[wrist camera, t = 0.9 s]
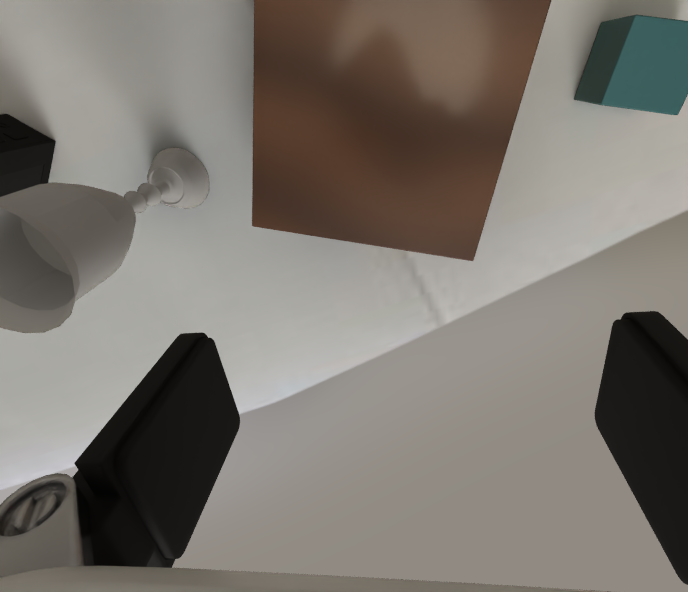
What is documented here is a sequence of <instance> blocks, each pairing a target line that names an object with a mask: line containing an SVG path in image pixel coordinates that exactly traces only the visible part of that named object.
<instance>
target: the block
mask: <svg viewBox="0 0 688 592" xmlns="http://www.w3.org/2000/svg"><path fill="white" fill-rule="evenodd" d="M687 95H688V21H683V20H675V19H667V18H659V17H651V16H643V15H632V16H628V17H623V18H619V19H614V20H610V21H605V22H602V23H601V25H600V28H599V31H598V33H597V36H596V39H595V42H594V45H593V48H592V50H591V53H590V56H589V59H588V62H587V64H586V67H585V70H584V73H583V76H582V78H581V81H580V84H579V87H578V90H577V92H576V95H575V98H574V99H575V100H579V101H584V102H589V103H594V104H599V105H605V106H612V107H620V108H627V109H634V110H641V111H649V112H656V113H663V114H670V115H678V113H679V111H680V109H681V107H682V105H683V103H684V101H685V99H686V97H687Z"/></svg>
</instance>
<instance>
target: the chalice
mask: <svg viewBox="0 0 688 592" xmlns="http://www.w3.org/2000/svg"><path fill="white" fill-rule="evenodd" d="M147 180H148V183H143V184H141V185H140V186H139V187H138V190H137V192H135V191H129V192H127V193H126V194H125V195H124V197H122V196H120V195H118V194H116V193H113V192H109V191H105V190H102V189H98V188H94V187H89V186H84V185H77V184H65V183H47V184H39V185H36V186H33V187H29V188H26V189H23V190H20V191H17V192H14V193H11V194H8V195H5V196H2V197H0V327H1V328H3V329H8V330H12V331H17V332H22V333H39V332H46V331H49V330H51V329H54V328H56V327H59V326H60V325H61V324H62V323H63V322H64V321H65V320H66V319H67V318H68V317H69V316H70V315H71V313H72V309H73V306H74V303H75V301H77V300H78V299H79V298H81V297H82V296H83V295H85V294H86V293H88V292H89V291H90V290H92V289H93V288H95V287H96V286H97V285H99V284H100V283H102V282H103V281H104V280H106V279H107V278H108V277H110V276H111V275H112V274H113V273H114V272H115V271H116V270H117V269H118V268H119V267H120V266H121V264H122V262H123V260H124V258H125V256H126V254H127V252H128V249H129V247H130V244H131V241H132V238H133V232H134V227H135V222H136V216H135V213H142V212H144V211H145V209H146V206H147V205H148V206H157V205H158V204H159V203H160V202H161V203H163V204H165V205H167V206H171V207H177V208H184V209H188V208H194V207H196V206H198V205H200V204H201V203H202V202H203V201H204V200H205V199H206V197H207V195H208V192H209V178H208V174H207V171H206V169H205V168H204V166H203V164H202V163H201V162H200V161H199V160H198V159H197V158H196V157H195V156H194V155H193V154H191V153H189V152H188V151H186V150H184V149H179V148H168V149H164V150H163V151H161V152H159V153H158V154H157V155H156V156H155V158H154V159H153V161H152V164H151V167H150V169H149V172H148V175H147Z"/></svg>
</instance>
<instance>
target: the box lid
mask: <svg viewBox="0 0 688 592" xmlns="http://www.w3.org/2000/svg"><path fill="white" fill-rule="evenodd" d="M550 3H551V0H254V99H253V202H252V226H254V227H261V228H267V229H273V230H280V231H286V232H292V233H298V234H305V235H311V236H317V237H324V238H330V239H336V240H343V241H349V242H355V243H362V244H368V245H374V246H381V247H387V248H393V249H400V250H406V251H412V252H419V253H425V254H431V255H437V256H444V257H450V258H456V259H463V260H469V261H473V260H474V257H475V253H476V250H477V247H478V243H479V240H480V237H481V233H482V230H483V227H484V223H485V220H486V217H487V213H488V210H489V206H490V203H491V200H492V196H493V193H494V190H495V186H496V183H497V180H498V176H499V173H500V170H501V166H502V163H503V160H504V156H505V153H506V150H507V146H508V143H509V140H510V136H511V133H512V130H513V126H514V123H515V120H516V116H517V113H518V110H519V106H520V103H521V100H522V96H523V93H524V90H525V86H526V83H527V80H528V76H529V73H530V70H531V66H532V63H533V60H534V56H535V53H536V50H537V46H538V43H539V39H540V36H541V33H542V29H543V26H544V23H545V19H546V16H547V13H548V9H549V6H550Z"/></svg>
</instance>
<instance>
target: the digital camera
mask: <svg viewBox="0 0 688 592" xmlns="http://www.w3.org/2000/svg"><path fill="white" fill-rule="evenodd" d="M54 146H55V141H54V140H52V139H50V138H48V137H47V136H45V135H43V134H41V133H40V132H38V131H36V130H34V129H33V128H31V127H29V126H27V125H26V124H24V123H22V122H20V121H18V120H17V119H15V118H13V117H11V116H10V115H7V114H2V115H0V197H2V196H5V195H8V194H11V193H14V192H17V191H20V190H23V189H26V188H29V187H33V186H36V185H39V184H47V183H48V178H49V173H50V168H51V162H52V157H53V152H54Z"/></svg>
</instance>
